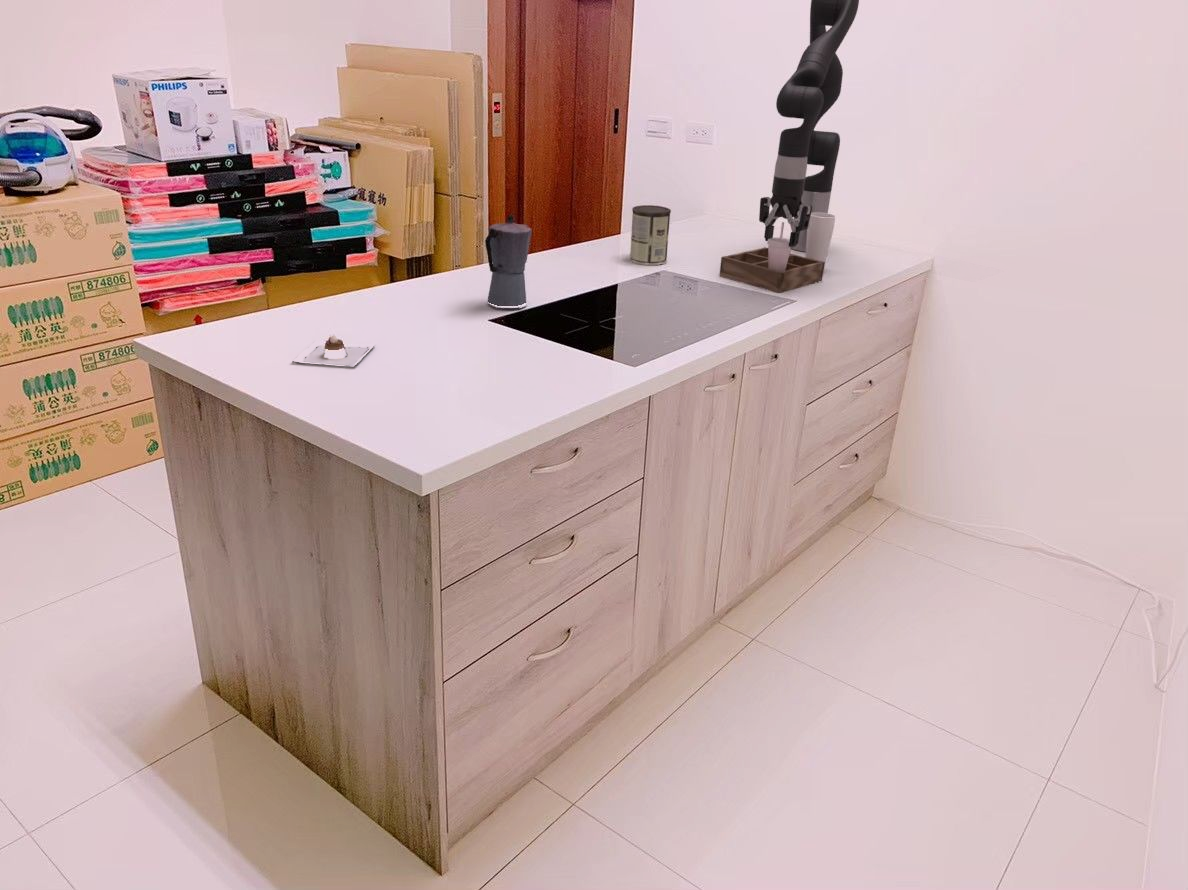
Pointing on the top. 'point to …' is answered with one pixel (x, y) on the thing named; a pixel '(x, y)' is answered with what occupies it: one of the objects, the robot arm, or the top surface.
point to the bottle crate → (771, 270)
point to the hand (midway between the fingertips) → (780, 243)
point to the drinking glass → (819, 236)
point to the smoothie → (778, 252)
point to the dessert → (334, 343)
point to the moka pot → (507, 262)
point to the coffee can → (649, 234)
